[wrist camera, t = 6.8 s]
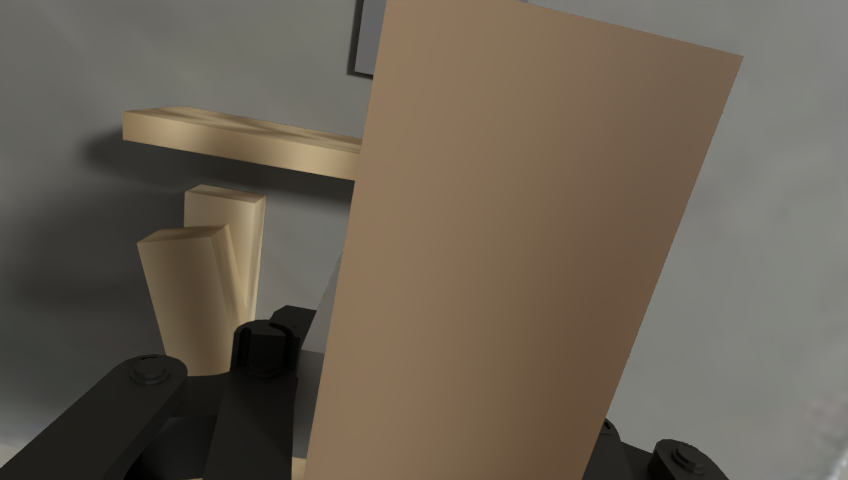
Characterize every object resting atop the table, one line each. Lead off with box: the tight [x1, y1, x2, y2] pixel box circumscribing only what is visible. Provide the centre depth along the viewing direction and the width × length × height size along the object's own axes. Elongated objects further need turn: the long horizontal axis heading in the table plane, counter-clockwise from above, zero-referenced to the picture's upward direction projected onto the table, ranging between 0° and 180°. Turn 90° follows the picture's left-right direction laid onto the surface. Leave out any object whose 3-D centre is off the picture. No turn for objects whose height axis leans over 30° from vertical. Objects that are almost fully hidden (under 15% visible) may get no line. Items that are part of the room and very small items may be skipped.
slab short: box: [137, 224, 248, 376], centre depth 33 cm, size 4×12×3 cm, turn 4°
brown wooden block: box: [303, 0, 744, 480], centre depth 12 cm, size 4×16×10 cm, turn 168°
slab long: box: [184, 184, 266, 322], centre depth 36 cm, size 4×16×3 cm, turn 169°
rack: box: [123, 106, 362, 480], centre depth 34 cm, size 27×26×7 cm
